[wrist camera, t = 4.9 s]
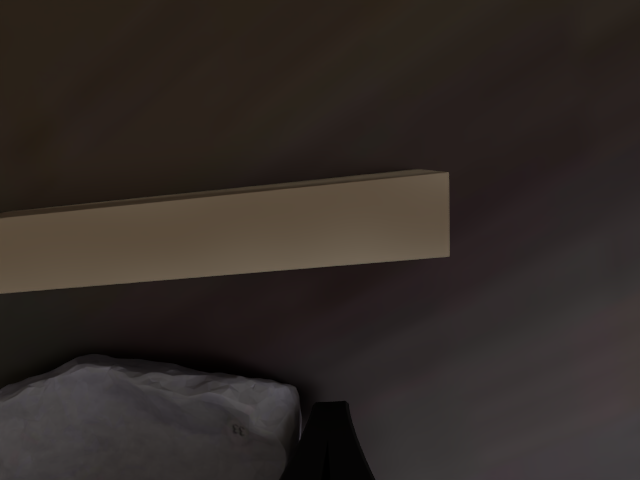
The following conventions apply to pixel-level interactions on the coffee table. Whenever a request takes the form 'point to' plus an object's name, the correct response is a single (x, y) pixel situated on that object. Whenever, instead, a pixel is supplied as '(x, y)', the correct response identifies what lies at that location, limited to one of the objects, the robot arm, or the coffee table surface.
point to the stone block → (146, 423)
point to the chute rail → (228, 231)
